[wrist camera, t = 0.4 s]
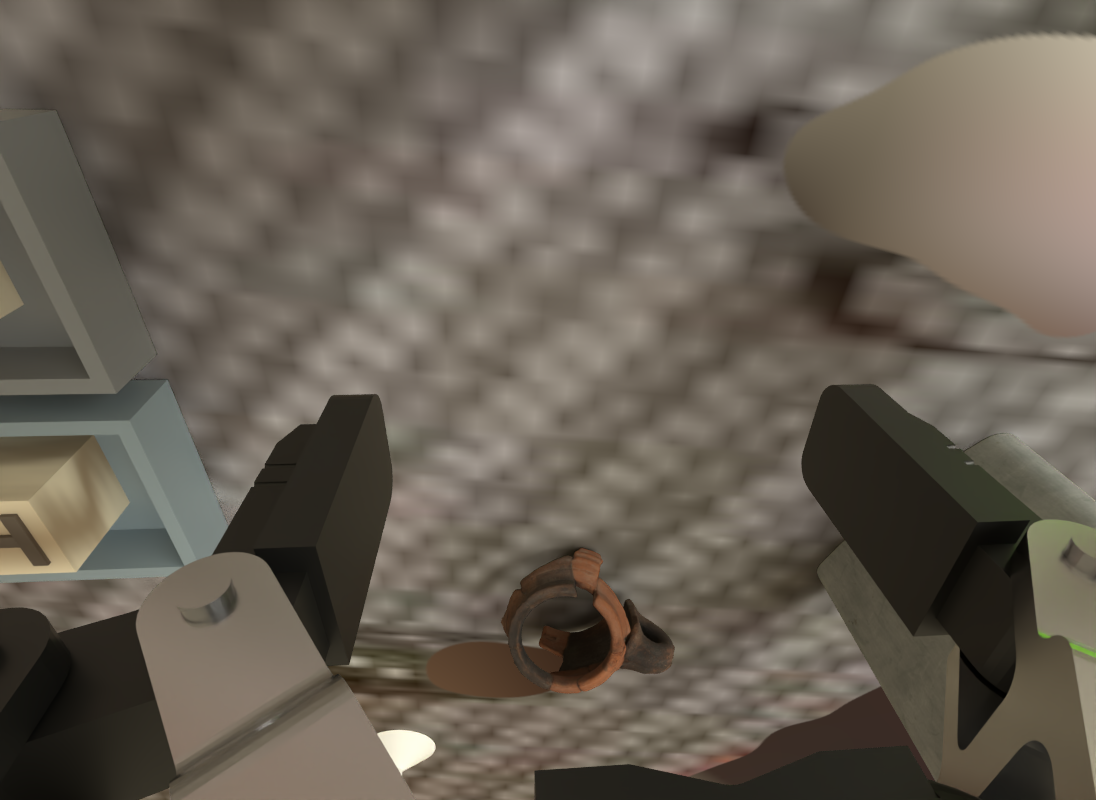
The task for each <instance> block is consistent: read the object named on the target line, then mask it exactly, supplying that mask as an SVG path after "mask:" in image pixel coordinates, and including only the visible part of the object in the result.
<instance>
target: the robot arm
mask: <svg viewBox="0 0 1096 800" xmlns="http://www.w3.org/2000/svg"><path fill="white" fill-rule="evenodd" d="M802 474H803V478H804V481H805V483H806V485H807V487H808V489H809V490H810V491H811V493H812V494H813V496H814V497H815V499H816V500H817V501H818V503H819V504H820V506H821V507H822V508H823V510H824V511H825V513H826V514H827V515H828V517H829V518H830V520H831V521H832V523H833V524H834V525H835V527H836V528H837V530H838V531H839V532H840V534H841V535H842V537H843V538H844V540H845V541H846V542H847V544H848V545H849V547H850V548H851V549H852V551H853V552H854V554H855V555H856V556H857V558H858V559H859V561H860V562H861V564H862V565H863V566H864V568H865V569H866V571H867V572H868V573H869V575H870V576H871V578H872V579H873V580H874V582H875V583H876V585H877V586H878V588H879V589H880V590H881V592H882V593H883V595H884V596H885V597H886V599H887V600H888V602H889V603H890V604H891V606H892V607H893V609H894V610H895V612H896V613H897V614H898V616H899V617H900V619H901V620H902V621H903V623H904V624H905V626H906V627H907V628H908V630H909V631H910V633H911V634H912V636H913V637H918V636H937V635H950V637H951V638H952V639H953V640H954V642H955V643H956V644H955V646H954V647H953V649H952V650H951V652H950V654H949V655H948V659H947V671H946V691H945V711H944V732H943V752H942V764H941V770H940V774H939V778H938V781H937V782H935V781H932V780H928V779H927V778H926V776H925V775H924V773H923V771H922V769H921V768H920V766H919V765H918V763H917V761H916V759H915V758H914V756H913V754H912V752H911V751H910V749H909V748H908V746H895V747H880V748H865V749H851V750H837V751H836V750H835V751H821V752H817V753H815V754H812V755H810V756H807V757H805V758H803V759H800V760H798V761H795V762H793V763H791V764H788V765H786V766H783V767H781V768H778V769H776V770H774V771H771V772H769V773H766V774H764V775H762V776H759V777H757V778H754V779H752V780H750V781H747V782H745V783H742V784H738V785H724V784H719V783H714V782H709V781H705V780H700V779H695V778H691V777H686V776H682V775H677V774H672V773H668V772H663V771H658V770H654V769H649V768H644V767H639V766H635V765H630V764H627V765H612V766H597V767H583V768H568V769H553V770H538V771H535V800H1096V529H1095V528H1092V527H1089V526H1086V525H1082V524H1079V523H1075V522H1070V521H1065V520H1042V519H1041V518H1040V517H1039V516H1038V515H1036V514H1035V513H1034V512H1033V511H1032V510H1031V509H1029V508H1028V507H1027V506H1026V505H1025V504H1024V503H1022V502H1021V501H1020V500H1019V499H1018V498H1017V497H1015V496H1014V495H1013V494H1012V493H1011V492H1010V491H1008V490H1007V489H1006V488H1005V487H1004V486H1003V485H1001V484H1000V483H999V482H998V481H997V480H996V479H994V478H993V477H992V476H991V475H990V474H989V473H987V472H986V471H985V470H984V469H983V468H982V467H980V466H979V465H974V461H973V460H972V459H971V458H970V457H969V456H968V455H966V454H965V453H964V452H963V451H962V450H961V449H956V448H955V444H954V443H952V442H951V441H950V440H949V439H948V438H947V437H945V436H944V435H943V434H942V433H941V432H940V431H938V430H937V429H936V428H935V427H934V426H932V425H930V424H928V423H926V422H925V421H923V420H921V419H919V418H917V417H915V416H913V415H911V414H910V413H908V412H907V411H906V410H905V409H903V408H902V407H901V406H900V405H899V404H898V403H897V402H895V401H894V400H893V399H892V398H891V397H890V396H889V395H887V394H886V393H885V392H884V391H883V390H882V389H881V388H879V387H878V386H876V385H872V384H861V385H831V386H829V387H827V388H826V389H825V390H824V391H823V393H822V395H821V397H820V400H819V403H818V406H817V409H816V413H815V416H814V419H813V422H812V425H811V429H810V432H809V435H808V438H807V441H806V444H805V448H804V451H803V455H802ZM391 495H392V465H391V458H390V452H389V446H388V440H387V434H386V428H385V422H384V416H383V410H382V405H381V401H380V398H379V396H378V395H377V394H364V395H333V396H331V397H330V399H329V401H328V403H327V405H326V407H325V408H324V410H323V412H322V414H321V416H320V418H319V420H318V422H317V424H304V425H299V426H298V427H297V428H296V429H294V430H293V431H292V432H291V433H289V434H288V435H287V436H285V437H284V438H283V439H282V440H280V441H279V442H278V443H277V444H276V446H275V448H274V449H273V451H272V453H271V455H270V456H269V458H268V460H267V461H266V463H265V469H262V470H261V472H260V473H259V475H258V477H257V478H256V480H255V482H254V487H251V489H250V490H249V492H248V494H247V496H246V497H245V499H244V501H243V502H242V504H241V506H240V508H239V509H238V511H237V513H236V514H235V516H234V518H233V520H232V521H231V523H230V525H229V526H228V528H227V530H226V531H225V533H224V535H223V537H222V538H221V540H220V542H219V543H218V545H217V547H216V549H215V550H214V552H213V554H212V555H211V556H208V557H204V558H201V559H199V560H196V561H194V562H191V563H189V564H187V565H185V566H183V567H181V568H180V569H178V570H177V571H175V572H173V573H172V574H170V575H169V576H168V577H166V578H165V579H164V580H163V581H161V582H160V583H159V584H158V585H157V586H156V587H155V588H154V589H153V590H152V591H151V592H150V594H149V595H148V596H147V597H146V599H145V600H144V602H143V604H142V605H141V607H140V609H139V610H136V611H133V612H130V613H127V614H123V615H120V616H116V617H112V618H109V619H105V620H102V621H98V622H95V623H91V624H88V625H84V626H81V627H77V628H74V629H70V630H67V631H63V632H60V633H57V632H56V631H55V629H54V628H53V626H52V625H51V624H50V622H49V621H48V619H47V618H46V616H44V615H43V614H42V613H40V612H39V611H36V610H33V609H28V608H7V609H0V800H139V799H142V798H144V797H147V796H150V795H152V794H155V793H157V792H160V791H163V790H165V789H168V788H169V790H170V798H171V800H416V799H415V797H414V795H413V794H412V792H411V790H410V789H409V787H408V785H407V784H406V782H405V780H404V778H403V777H402V775H401V773H400V772H399V770H398V768H397V767H396V765H395V763H394V762H393V760H392V758H391V757H390V755H389V753H388V752H387V750H386V748H385V746H384V745H383V743H382V741H381V740H380V738H379V736H378V735H377V733H376V731H375V730H374V728H373V726H372V725H371V723H370V721H369V720H368V718H367V716H366V714H365V713H364V711H363V709H362V708H361V706H360V704H359V703H358V701H357V699H356V698H355V696H354V694H353V693H352V691H351V689H350V688H349V686H348V685H347V683H346V682H345V681H344V679H343V678H342V677H341V676H340V675H339V674H337V675H335V676H333V675H332V673H331V672H330V670H329V669H328V667H327V666H333V665H349V663H350V659H351V655H352V651H353V647H354V643H355V639H356V635H357V631H358V627H359V623H360V620H361V616H362V612H363V608H364V604H365V600H366V596H367V592H368V588H369V584H370V580H371V576H372V572H373V568H374V564H375V560H376V556H377V552H378V548H379V544H380V540H381V537H382V533H383V529H384V525H385V521H386V517H387V513H388V509H389V505H390V501H391Z"/></svg>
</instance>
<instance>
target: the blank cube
mask: <svg viewBox="0 0 1096 800" xmlns="http://www.w3.org/2000/svg"><path fill="white" fill-rule="evenodd" d="M23 305H24V304H23V302H22V300H21V298H20V296H19V294H18V292H17V290H16V289H15V287H14V285H13V283H12V281H11V279H10V277H9V275H8V274H7V272H6V270H5V268H4V266H3V264H2V262H1V261H0V319H1V318H2V317H4V316H6V315H7V314H9V313H11V312H12V311H14V310H16V309H18V308H19V307H21V306H23Z"/></svg>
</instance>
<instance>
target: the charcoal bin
mask: <svg viewBox="0 0 1096 800" xmlns="http://www.w3.org/2000/svg"><path fill="white" fill-rule="evenodd" d="M0 261H1V262H2V264H3V266H4V268H5V270H6V272H7V274H8V275H9V277H10V279H11V281H12V283H13V285H14V287H15V289H16V290H17V292H18V294H19V296H20V298H21V300H22V302H23V304H24V305H23V306H21V307H19V308H18V309H16V310H14V311H12V312H11V313H9V314H7V315H6V316H4V317H2V318H1V319H0V395H53V394H117V393H118V392H119V391H120V390H121V389H122V388H123V387H124V386H125V385H126V384H127V383H128V382H129V381H130V380H131V379H132V378H133V377H134V376H135V375H136V374H137V373H138V372H139V371H140V370H141V369H143V368H144V367H145V366H146V365H147V364H148V363H149V362H150V361H151V360H152V359H153V358H154V357H155V356H156V355H157V353H156V350H155V348H154V346H153V343H152V341H151V338H150V336H149V333H148V331H147V329H146V326H145V324H144V321H143V319H142V317H141V314H140V312H139V309H138V307H137V304H136V302H135V300H134V297H133V295H132V292H131V290H130V288H129V285H128V283H127V280H126V278H125V275H124V273H123V271H122V268H121V266H120V263H119V261H118V259H117V256H116V254H115V251H114V249H113V246H112V244H111V242H110V239H109V237H108V234H107V232H106V230H105V227H104V225H103V222H102V220H101V217H100V215H99V213H98V210H97V208H96V205H95V203H94V201H93V198H92V196H91V193H90V191H89V188H88V186H87V184H86V181H85V179H84V176H83V174H82V172H81V169H80V167H79V164H78V162H77V159H76V157H75V155H74V152H73V150H72V147H71V145H70V143H69V140H68V138H67V135H66V133H65V130H64V128H63V126H62V123H61V121H60V118H59V116H58V114H57V111H56V110H24V109H0Z"/></svg>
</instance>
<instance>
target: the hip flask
mask: <svg viewBox="0 0 1096 800" xmlns="http://www.w3.org/2000/svg"><path fill="white" fill-rule="evenodd" d="M964 453H965V454H966V455H968V456H969V457H970V458H971V459H972V460H973V461H974V465H979V466H980V467H982V468H983V469H984V470H985V471H986V472H987V473H989V474H990V475H991V476H992V477H993V478H994V479H996V480H997V481H998V482H999V483H1000V484H1001V485H1003V486H1004V487H1005V488H1006V489H1007V490H1008V491H1010V492H1011V493H1012V494H1013V495H1014V496H1015V497H1017V498H1018V499H1019V500H1020V501H1021V502H1022V503H1024V504H1025V505H1026V506H1027V507H1028V508H1029V509H1031V510H1032V511H1033V512H1034V513H1035V514H1036V515H1038V516H1039V517H1040V518H1041V519H1042V520H1065V521H1070V522H1075V523H1079V524H1082V525H1086V526H1089V527H1092V528H1095V529H1096V501H1095V500H1094V499H1093V498H1091V497H1090V496H1089V495H1088V494H1086V493H1085V492H1084V491H1083V490H1081V489H1080V488H1079V487H1078V486H1076V485H1075V484H1074V483H1073V482H1071V481H1070V480H1069V479H1068V478H1066V477H1065V476H1064V475H1063V474H1062V473H1060V472H1059V471H1058V470H1057V469H1055V468H1054V467H1053V466H1052V465H1050V464H1049V463H1048V462H1047V461H1045V460H1044V459H1043V458H1042V457H1040V456H1039V455H1038V454H1037V453H1035V452H1034V451H1033V450H1032V449H1030V448H1029V447H1028V446H1027V445H1025V444H1024V443H1023V442H1022V441H1020V440H1019V439H1018V438H1017V437H1015V436H1014V435H1012V434H1006V433H1004V434H997V435H993V436H991V437H988V438H986V439H984V440H983V441H981V442H979V443H977V444H976V445H974V446H972V447H971V448H969V449H967V450H966V451H964ZM817 575H818V577H819V579H820V580H821V582H822V584H823V585H824V587H825V589H826V591H827V592H828V594H829V596H830V598H831V599H832V601H833V603H834V605H835V606H836V608H837V610H838V612H839V613H840V615H841V617H842V619H843V620H844V622H845V624H846V626H847V627H848V629H849V631H850V633H851V634H852V636H853V638H854V640H855V641H856V643H857V645H858V646H859V648H860V650H861V652H862V653H863V655H864V657H865V659H866V660H867V662H868V664H869V666H870V667H871V669H872V671H873V673H874V674H875V676H876V678H877V680H878V681H879V683H880V685H881V687H882V688H883V690H884V692H885V694H886V695H887V697H888V699H889V700H890V702H891V704H892V706H893V707H894V709H895V711H896V713H897V714H898V716H899V718H900V719H901V721H902V723H903V725H904V726H905V728H906V730H907V732H908V734H909V735H910V737H911V739H912V741H913V742H914V744H915V745H916V747H917V749H918V751H919V753H920V755H921V756H922V758H923V760H924V761H925V763H926V765H927V767H928V768H929V770H930V772H931V774H932V775H933V777H934V779H935V781H936V782H937V781H938V778H939V774H940V770H941V764H942V752H943V732H944V711H945V691H946V671H947V659H948V655H949V654H950V652H951V650H952V649H953V647H954V646H955V644H956V643H955V642H954V640H953V639H952V638H951V637H950V635H937V636H918V637H913V636H912V634H911V633H910V631H909V630H908V628H907V627H906V626H905V624H904V623H903V621H902V620H901V619H900V617H899V616H898V614H897V613H896V612H895V610H894V609H893V607H892V606H891V604H890V603H889V602H888V600H887V599H886V597H885V596H884V595H883V593H882V592H881V590H880V589H879V588H878V586H877V585H876V583H875V582H874V580H873V579H872V578H871V576H870V575H869V573H868V572H867V571H866V569H865V568H864V566H863V565H862V564H861V562H860V561H859V559H858V558H857V556H856V555H855V554H854V552H853V551H852V549H851V548H850V547H849V545H848V544H847V542H846V541H845V540H844V541H843V542H842V543H841V544H840V545H839V546H838V547H837V548H836V549H835V550H834V551H833V552H832V553H831V554H830V555H829V556H828V557H827V558H826V559H825V560H824V561H823V562H822V563H821V564H820V565H819V567H818V570H817Z"/></svg>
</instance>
